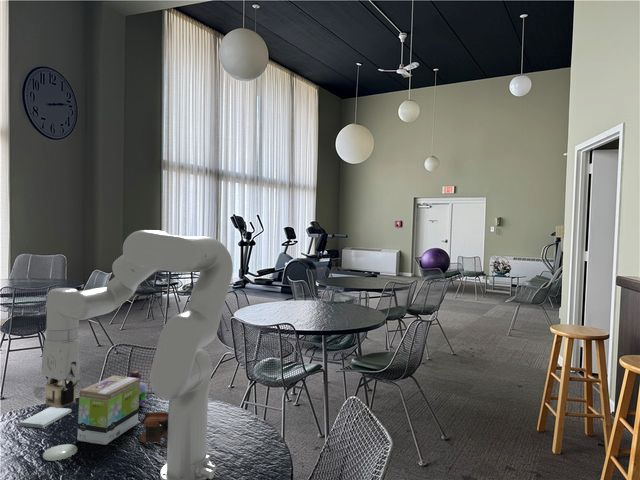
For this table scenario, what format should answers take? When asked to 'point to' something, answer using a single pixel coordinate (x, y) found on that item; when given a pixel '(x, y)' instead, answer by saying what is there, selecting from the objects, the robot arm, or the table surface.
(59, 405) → the letter cube
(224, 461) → the table surface
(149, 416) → the pottery mug
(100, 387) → the tea box
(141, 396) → the potion bottle
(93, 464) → the table surface
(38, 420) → the hard drive
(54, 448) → the pale green disc
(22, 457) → the table surface
